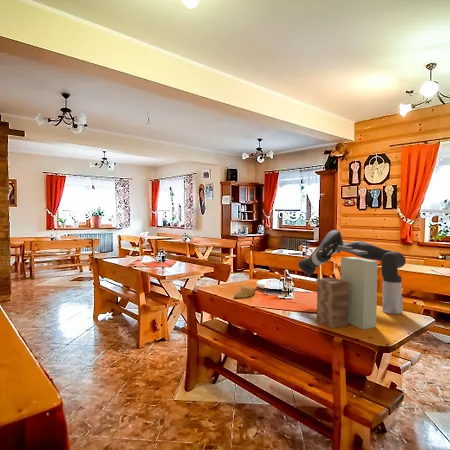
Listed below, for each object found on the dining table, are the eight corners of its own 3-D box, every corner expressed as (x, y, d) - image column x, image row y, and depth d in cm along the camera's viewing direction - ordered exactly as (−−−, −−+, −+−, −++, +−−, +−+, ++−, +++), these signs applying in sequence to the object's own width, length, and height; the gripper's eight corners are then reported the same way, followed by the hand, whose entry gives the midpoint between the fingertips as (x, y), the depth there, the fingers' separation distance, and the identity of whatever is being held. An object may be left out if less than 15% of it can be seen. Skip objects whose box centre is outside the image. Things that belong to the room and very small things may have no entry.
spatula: (328, 248, 178) (328, 244, 178) (337, 247, 181) (337, 244, 180) (357, 254, 158) (358, 250, 158) (367, 254, 160) (367, 250, 160)
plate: (258, 277, 256) (293, 278, 251) (258, 285, 256) (293, 287, 250) (254, 280, 229) (293, 282, 223) (254, 290, 228) (293, 292, 223)
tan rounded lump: (237, 304, 209) (242, 295, 206) (227, 295, 215) (231, 285, 212) (258, 297, 225) (262, 288, 222) (247, 288, 230) (252, 279, 227)
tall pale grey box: (340, 319, 171) (341, 257, 170) (352, 317, 174) (353, 256, 173) (363, 329, 156) (364, 262, 155) (376, 327, 159) (377, 261, 158)
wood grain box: (316, 320, 169) (317, 278, 168) (331, 318, 172) (331, 277, 172) (332, 328, 158) (333, 283, 157) (347, 325, 161) (348, 282, 160)
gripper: (333, 262, 190) (352, 250, 175) (313, 263, 185) (330, 251, 170) (329, 250, 193) (347, 237, 179) (309, 251, 188) (326, 238, 174)
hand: (339, 244), depth 175 cm, fingers closed on spatula, 2 cm apart
